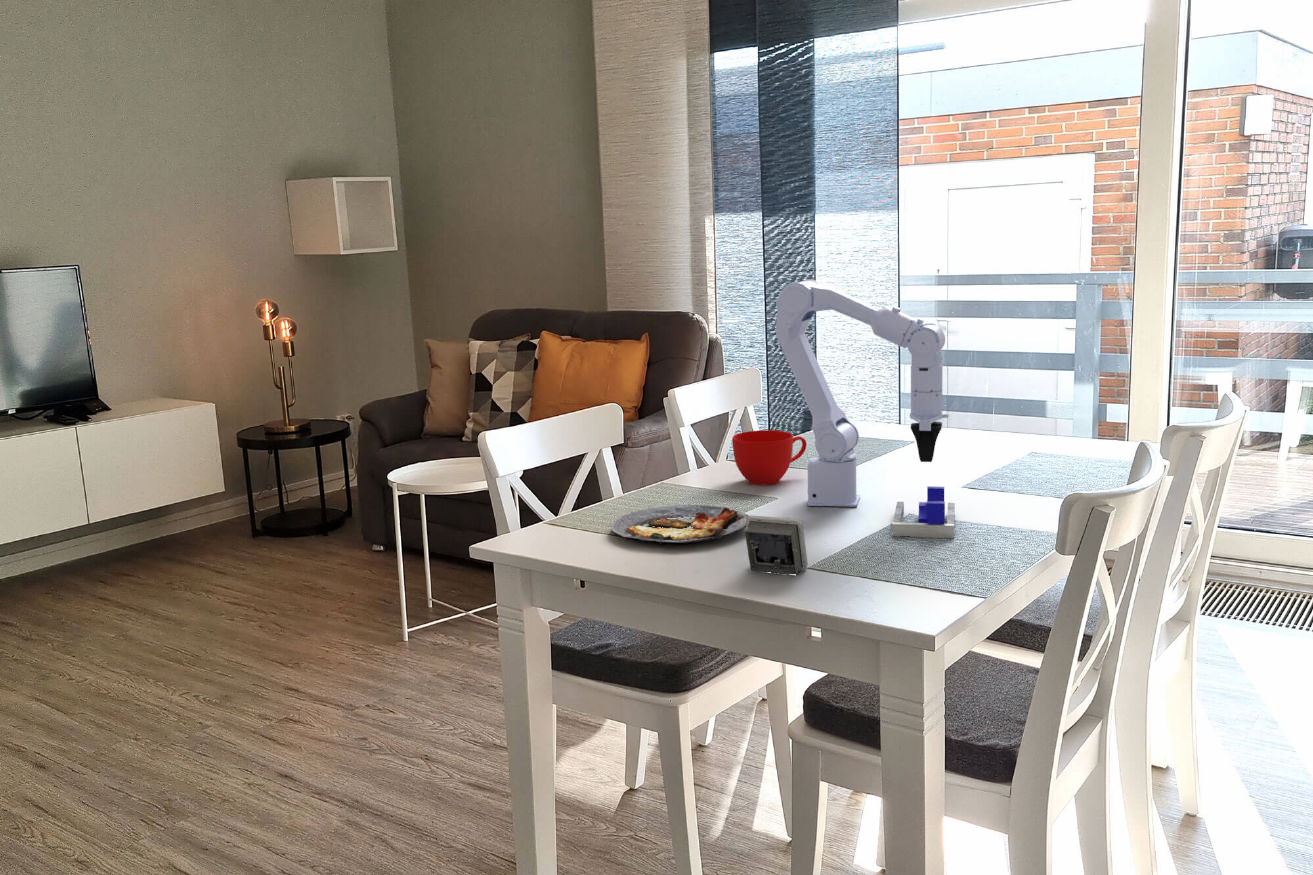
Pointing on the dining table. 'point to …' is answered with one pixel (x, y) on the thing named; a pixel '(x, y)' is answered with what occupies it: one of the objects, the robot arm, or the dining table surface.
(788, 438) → the ceramic cup
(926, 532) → the rail bracket
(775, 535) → the electrical switch
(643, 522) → the food plate
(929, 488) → the blue stepped block
